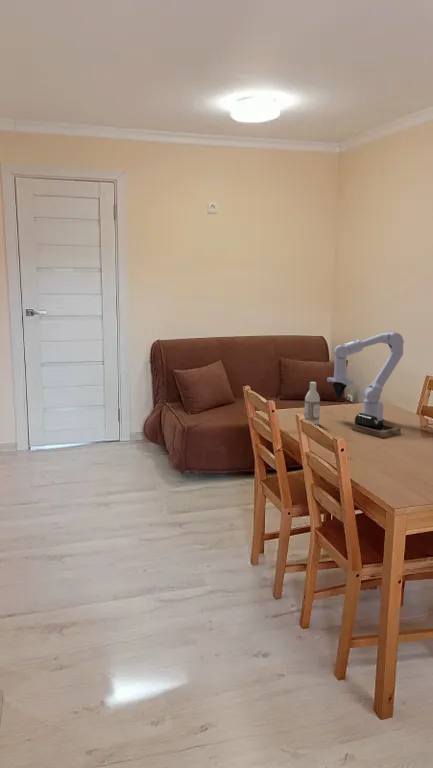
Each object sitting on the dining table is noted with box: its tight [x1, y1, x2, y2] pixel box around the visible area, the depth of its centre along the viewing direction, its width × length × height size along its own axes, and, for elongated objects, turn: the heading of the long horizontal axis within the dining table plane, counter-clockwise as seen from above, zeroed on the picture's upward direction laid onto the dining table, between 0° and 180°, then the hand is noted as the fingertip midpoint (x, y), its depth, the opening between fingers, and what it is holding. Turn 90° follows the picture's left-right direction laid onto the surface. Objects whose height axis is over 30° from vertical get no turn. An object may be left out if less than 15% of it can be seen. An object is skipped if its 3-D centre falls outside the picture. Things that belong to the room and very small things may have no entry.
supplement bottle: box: [354, 412, 384, 431], centre depth 264 cm, size 7×7×12 cm
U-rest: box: [351, 423, 401, 439], centre depth 262 cm, size 13×16×2 cm
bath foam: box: [303, 381, 321, 426], centre depth 273 cm, size 7×7×20 cm
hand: (338, 398), depth 284 cm, fingers closed
